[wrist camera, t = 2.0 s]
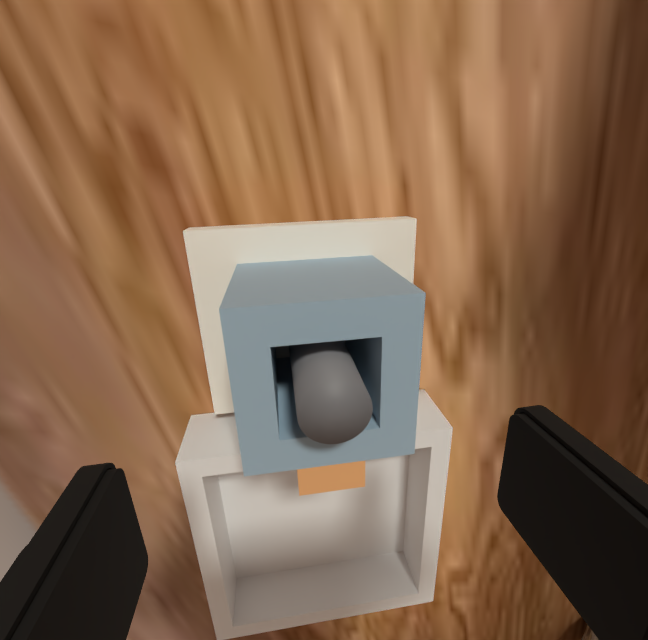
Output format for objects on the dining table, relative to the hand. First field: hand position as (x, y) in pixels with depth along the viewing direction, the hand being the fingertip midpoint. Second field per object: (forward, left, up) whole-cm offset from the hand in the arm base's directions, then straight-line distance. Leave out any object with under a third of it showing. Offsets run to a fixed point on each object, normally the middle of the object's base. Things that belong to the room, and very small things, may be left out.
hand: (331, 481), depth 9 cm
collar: (0, -1, -9) cm, 9 cm away
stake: (0, -1, -10) cm, 10 cm away
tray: (0, +11, -10) cm, 15 cm away
